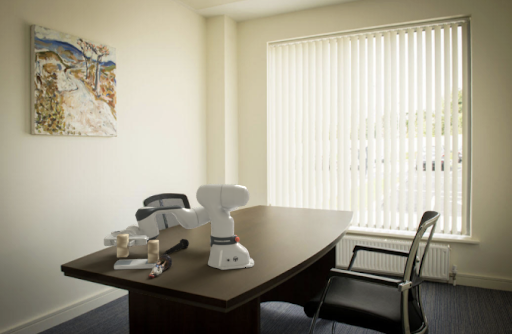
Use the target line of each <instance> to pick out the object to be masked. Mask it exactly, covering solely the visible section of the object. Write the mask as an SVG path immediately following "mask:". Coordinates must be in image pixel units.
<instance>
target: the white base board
mask: <svg viewBox="0 0 512 334" xmlns="http://www.w3.org/2000/svg"><path fill="white" fill-rule="evenodd" d="M156 264H157V263H148V258H137V259H136V258H135V259H132V258H131V259H119V260H117V261H116V262H115V263H114V264H113V269H114V270H139V269H141V270H142V269H153V268H154V267H155V266H156Z"/></svg>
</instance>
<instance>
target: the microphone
mask: <svg viewBox="0 0 512 334" xmlns="http://www.w3.org/2000/svg"><path fill="white" fill-rule="evenodd" d="M189 245H190V242H189V240H188V239H186V238H181V239H180V240H179V243H177V244H175V245H174V246H171V247H170V248H169V249H167V250H166V251H164V252H163V254H162V255H164V254H165V255H170V254H172V253H175V252H177V251H180V250H181V249H187V248H188V247H189Z"/></svg>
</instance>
